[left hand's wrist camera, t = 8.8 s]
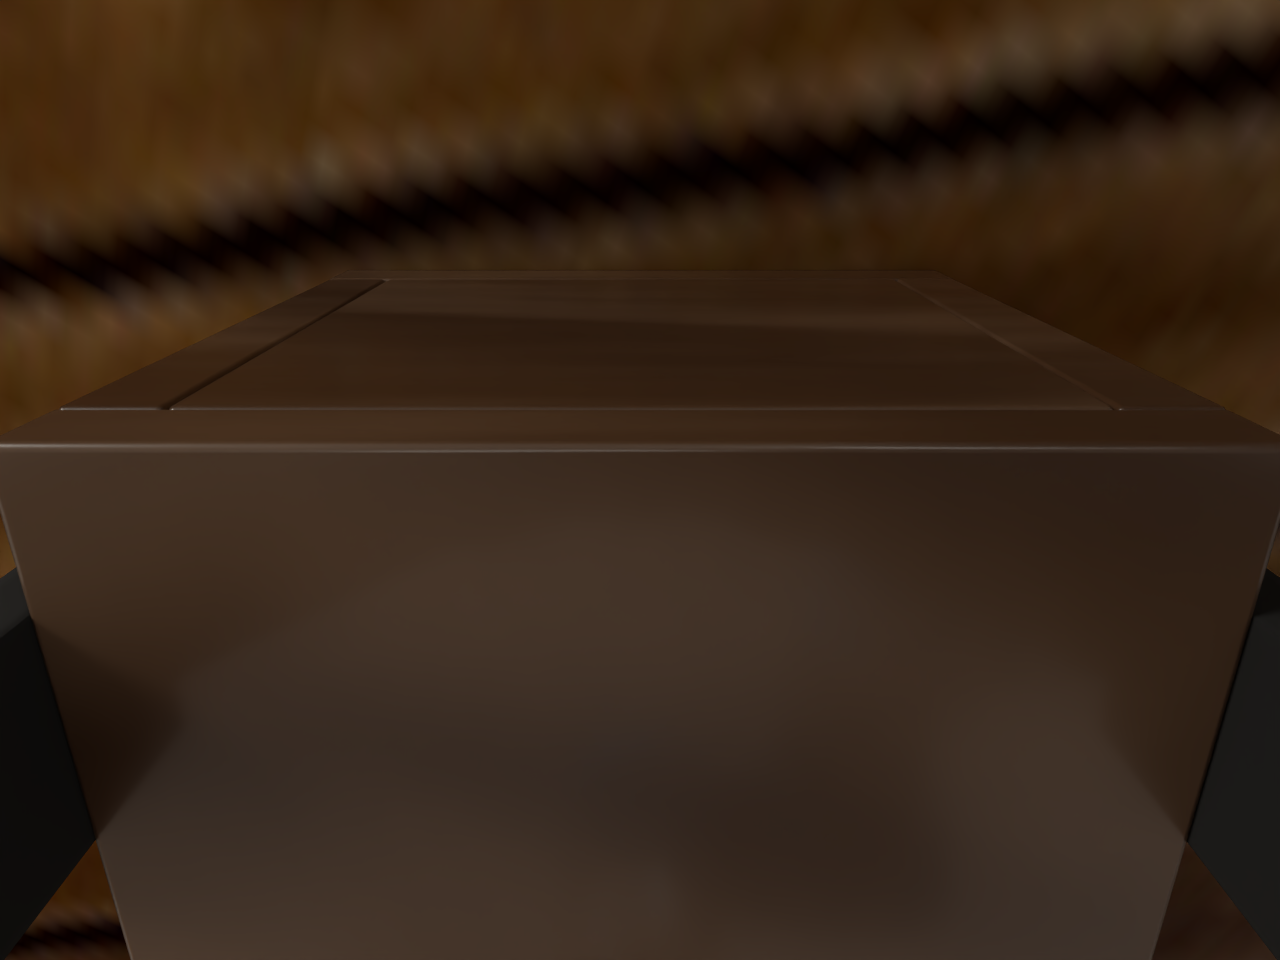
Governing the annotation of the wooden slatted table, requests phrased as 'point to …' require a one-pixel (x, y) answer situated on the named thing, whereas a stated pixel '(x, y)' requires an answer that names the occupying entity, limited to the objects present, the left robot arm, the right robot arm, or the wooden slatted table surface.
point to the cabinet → (641, 621)
